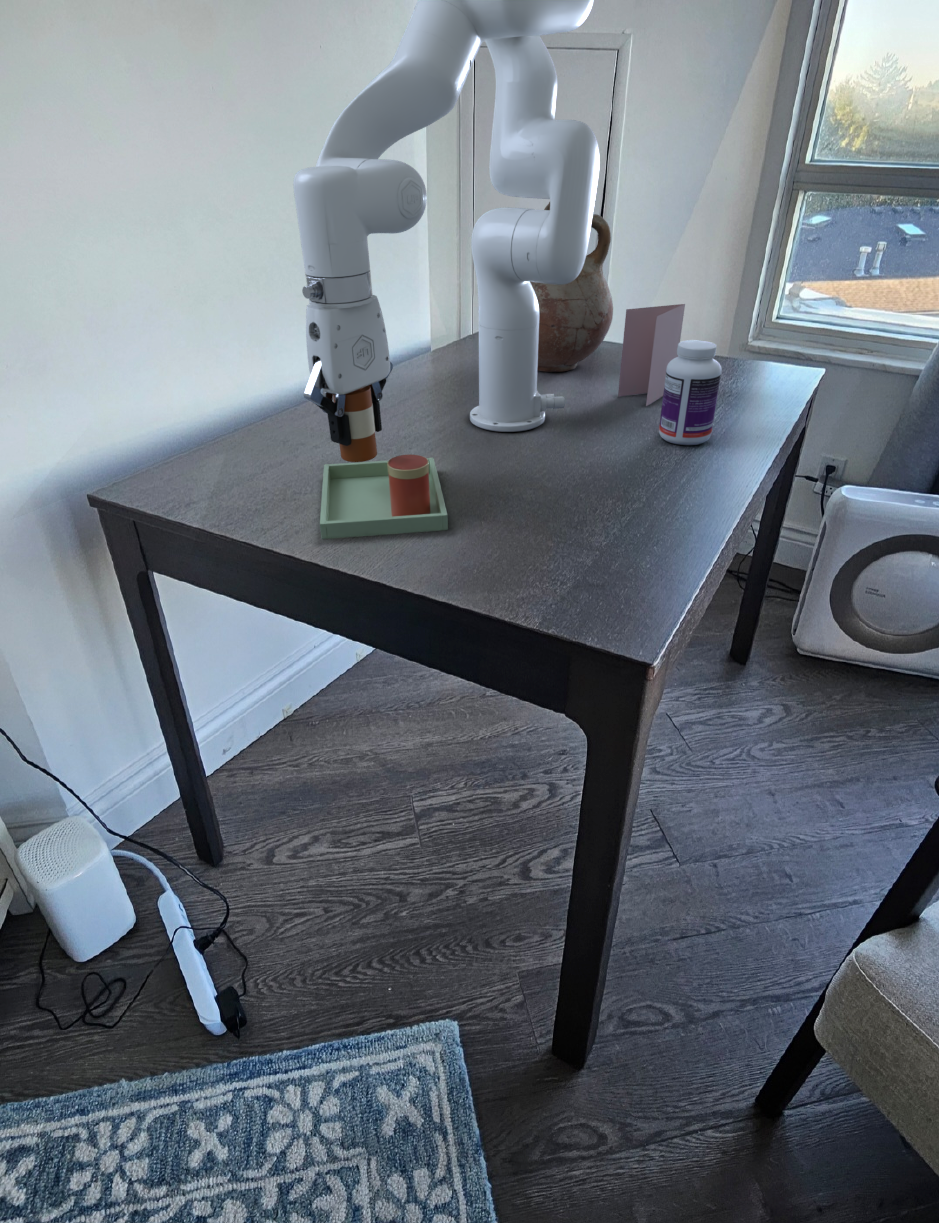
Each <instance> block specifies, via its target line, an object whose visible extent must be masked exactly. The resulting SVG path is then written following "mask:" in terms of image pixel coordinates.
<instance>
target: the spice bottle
mask: <svg viewBox="0 0 939 1223" xmlns="http://www.w3.org/2000/svg"><path fill="white" fill-rule="evenodd" d="M335 396H336V395H335V394H333V402H334V403H335ZM344 414H346V415H348V417H349V424H350V433H351V441H352V442H351V445H348V446H345V445H342V444H339V452H340V453H339V454H340V458H341V459H342V460H343V461H345V462H347V463H357V462H369V461H371V460H373V459H375V458H376V457H377V456H378V449H377V448H378V447H377V439H376V431H375V423H374V413H373V404H372V398H371V388H370V386H369V385H368V386H366V387H363V388H360V389H358V390H355V391H353V392H350V393H347V394H346V396H345V409H344Z"/></svg>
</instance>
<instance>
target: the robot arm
mask: <svg viewBox="0 0 939 1223" xmlns="http://www.w3.org/2000/svg"><path fill="white" fill-rule="evenodd" d="M594 3H595V0H417V1H416V3H415V6H414V8H413V11H412V13H411V16H410V19H409V21H408V23H407V25H406V27H405V30H404V32H403V35H402V37H401V39H400V41H399V44H398V45H397V48H396V51H395V53H394V55H393V58H392V59H391V61H390V63H389V64H388V65H387V66H386V67H385V68H384V69H383V70H381V71H380V72H379V73H378V74H377V75H376V76H375V77H374V78H373V79H371V80H370V81H369V83H368V84H367V85H365V86H364V88H363V89H362V90H360V92H359V93H358V94H357V95H356V96H355V97H354V98H353V99H352V100H351V101H350V102H349V103H348V104H347V105H346V106H345V108H344V109H343V110H342V111H341V112H340V114H339V115H338V117H337V118H336V120H334V122H333V124H332V126H331V128H330V130H329V132H328V134H327V137H326V139H325V141H324V143H323V146H322V148H321V151H320V153H319V155H318V158H317V160H316V163H315V166H309V167H305V168H301V169H300V170H298V171H297V172H296V173H295V175H294V177H293V183H292V186H293V195H294V196H293V197H294V202H295V211H296V217H297V224H298V231H299V233H298V234H299V239H300V246H301V254H302V260H303V269H304V274H305V275H304V276H305V281H306V282H305V283H306V285H304V286H303V287H302V289H301V290H302V295H303V297H304V298H305V299H307V300H308V304H307V305H306V310H305V341H306V354H307V363H308V371H309V378H308V381H307V383H306V386H305V389H304V392H303V398H304V399H305V400H307V401H308V402H311V403H313V404H314V405H315V406H316V407H318V408H319V409H320V410H322V413H324V414H327V422H328V429H329V435H330V436H329V437H330V440H331V442H332V443H335V444H342V445H345V446H348V445H351V442H352V441H351V433H350V424H349V417H348V415H346V414H344V409H345V396H346V394H347V393H350V392H353V391H355V390H358V389H360V388H363V387H366V386H368V385H369V386H370V388H371V398H372V404H373V413H374V423H375V433H379V432H382V430H383V426H382V425H383V424H382V416H381V406H380V401H382V399H383V396H384V394H383V390H384V388H385V386H386V383H387V379H388V378H389V377H390V375H391V373H392V371H393V369H394V364H393V363H392V361H391V359H390V349H389V342H388V338H387V337H388V336H387V335H388V334H387V330H386V325H385V319H384V316H383V312H382V308H381V304H380V301H379V299H378V296H377V295H375V294H373V284H372V283H373V282H372V275H371V264H370V253H369V243H368V236H369V235H371V234H372V235H373V234H389V235H391V234H400V233H404V232H407V231H409V230H411V229H412V228H414V227H415V226H416V225H417V224H418V223H419V222H420V221H421V219H422V217H423V216H424V213H425V211H426V208H427V200H428V194H427V188H426V185H425V182H424V179H423V178H422V175H420V173H419V172H418V171H417V169H415V168H414V167H413V166H411V165H410V164H408V163H406V162H403V161H401V160H396V159H383V158H382V159H380V157H381V156H382V155H383V154H384V153H385V152H386V151H387V150H388V149H389V148H391V147H392V146H393V145H394V144H396V143H397V142H398V141H400V140H402V139H404V138H406V137H408V136H410V135H412V134H414V133H416V132H418V131H420V130H423V129H425V128H426V127H429V126H430V125H432V124H434V123H435V122H438V120H441V119H442V118H443V117H445V116H447V115H448V114H449V113H451V111H452V110H454V108H455V107H456V105H457V102H458V100H459V97H460V95H461V92H462V91H463V88H464V85H465V83H466V81H467V78H468V75H469V74H470V72H471V69H472V66H473V64H474V62H475V60H476V57H477V55H478V52H479V51H480V48H481V47H482V44H483V43H485V46H486V47H487V49H488V51H489V52H488V53H489V55H490V59H491V60H492V61H491V62H492V65H493V69H494V76H495V95H494V106H493V107H494V108H493V115H492V116H493V117H492V129H491V136H490V137H491V138H490V150H489V165H488V166H489V168H488V170H489V178H490V179H489V181H490V184H491V186H492V187H493V189H494V190H495V191H497V192H498V193H499V194H502V195H504V196H507V197H513V198H522V199H537V200H539V199H540V200H549V202H550V210H544V209H535V208H528V207H527V208H526V207H509V206H507V207H506V206H505V207H504V206H503V207H497V208H496V207H495V208H493V209H490V210H488V211H486V212H484V213H483V214H482V215H480V217H478V219H477V220H476V222H475V224H474V225H473V228H472V231H471V238H470V247H471V248H470V249H471V257H472V262H473V267H474V272H475V278H476V288H477V299H478V300H477V302H478V303H477V304H478V405H477V406H475V407H473V408H472V409H471V410H470V412H469V420H470V423H471V424H473V426H475V427H478V428H479V429H482V430H486V431H491V432H500V433H502V432H503V433H514V432H516V433H517V432H524V431H528V430H533V429H535V428H537V427H540V426H541V425H542V424H544V423H545V420H546V411H547V410H548V409H553V410H556V409H557V410H558V409H565V406H566V400H565V396H564V395H563V396H555V394H554V393H545V394H540V392H539V391H538V370H537V367H538V340H539V305H538V300H537V297H536V294H535V292H534V290H533V287H532V285H531V283H530V282H538V283H546V284H556V285H563V284H568V283H570V282H572V281H573V280H575V279H576V278H577V277H578V275H579V274H580V272H581V270H582V268H583V265H584V262H585V258H586V256H587V255H588V254H587V253H588V248H589V243H590V237H591V229H592V227H591V223H592V217H593V214H594V211H595V210H594V209H595V203H596V202H595V201H596V196H597V188H598V182H599V176H600V164H601V161H600V160H601V159H600V149H599V143H598V139H597V137H596V133H595V132H594V130H593V129H592V127H591V126H590V125H588V124H587V123H586V122H584V121H581V120H577V119H556V106H557V97H558V96H557V94H558V73H557V70H556V66H555V63H554V60H553V58H552V55H551V53H550V51H549V49H548V48H547V46H546V44H545V42H544V41H543V39H542V37H541V36H548V35H555V34H560V33H561V34H562V33H569V32H573V31H575V30H577V29H578V28H579V27H581V26H582V24H583V23H584V22H586V20H587V18H588V17H589V15H590V13H591V11H592V8H593V5H594ZM322 389H323V390H322ZM321 390H322V391H321ZM333 394H335V395H336V396H335V403H334V399H333Z"/></svg>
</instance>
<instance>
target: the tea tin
mask: <svg viewBox="0 0 939 1223" xmlns="http://www.w3.org/2000/svg"><path fill="white" fill-rule="evenodd" d="M427 458H428V457H425V456H423V455H419V454H409V453H408V454H401V455H396V456H393V457H391V458H389V459H388V460H387V461H388V462H387V467H388V475H389V488H390V501H391V514H392V517H393V516H407V515H422V514H430V491H429V461H428V459H427Z"/></svg>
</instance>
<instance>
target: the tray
mask: <svg viewBox="0 0 939 1223" xmlns="http://www.w3.org/2000/svg"><path fill="white" fill-rule="evenodd" d="M426 458H427V459H428V461H429V491H430V514H422V515H407V516H393V517H392V514H391V501H390V488H389V475H388V467H387V462H388V461H389V460H374V461H364V462H342V463H327V464H323V471H322V474H323V475H322V487H321V488H322V489H321V502H320V515H319V516H320V517H319V530H320V536H321V540H327V539H329V540H330V539H342V538H354V537H355V538H356V537H369V536H370V537H371V536H383V535H385V536H386V535H398V534H410V533H426V532H439V531H448V530H449V524H448V520H449V519H448V518H449V517H448V512H447V507H446V504H445V499H444V495H443V491H442V487H441V483H440V478H439V474H438V471H437V470H438V469H437V467H436V466H437V465H436V462H435V458H434V457H426Z"/></svg>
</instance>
